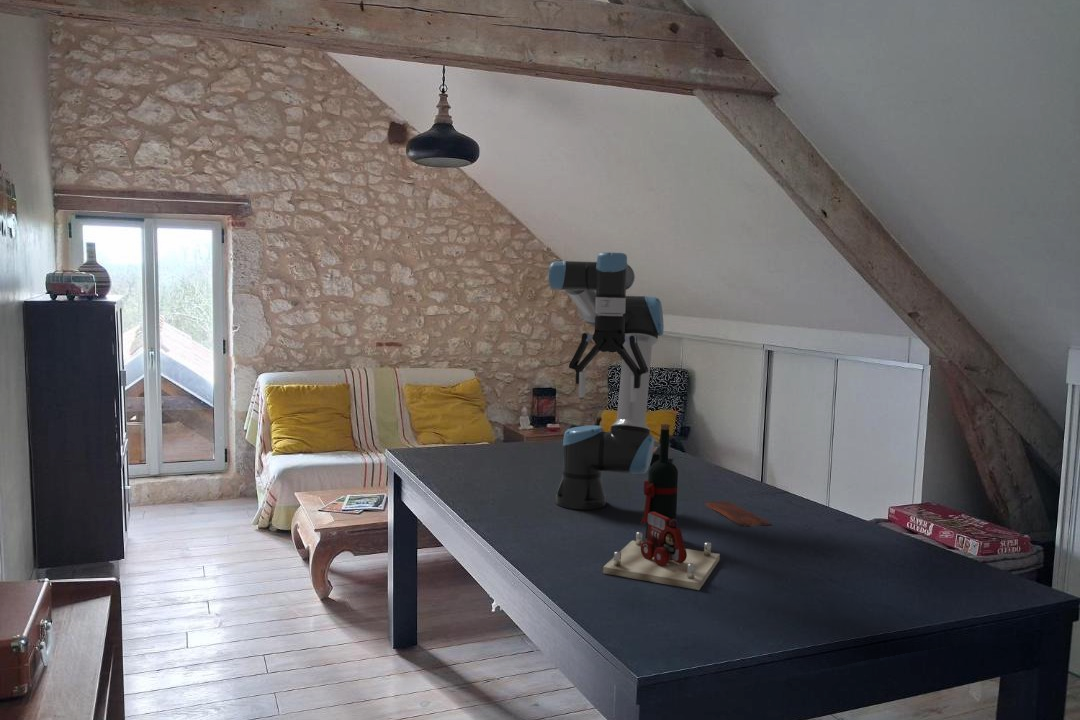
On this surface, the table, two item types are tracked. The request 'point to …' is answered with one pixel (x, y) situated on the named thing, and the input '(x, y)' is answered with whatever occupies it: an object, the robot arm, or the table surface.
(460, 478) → the table surface
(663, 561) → the toy fire truck
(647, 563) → the standoff plate
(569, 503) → the robot arm
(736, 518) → the wooden tablet
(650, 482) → the wine bottle
